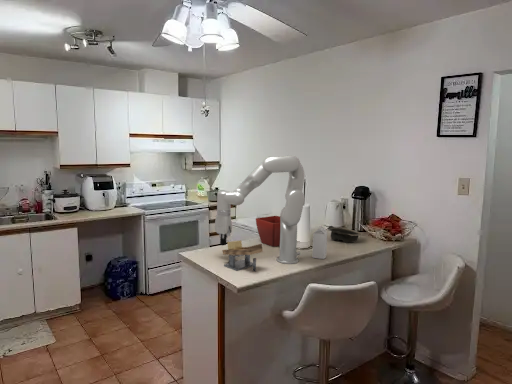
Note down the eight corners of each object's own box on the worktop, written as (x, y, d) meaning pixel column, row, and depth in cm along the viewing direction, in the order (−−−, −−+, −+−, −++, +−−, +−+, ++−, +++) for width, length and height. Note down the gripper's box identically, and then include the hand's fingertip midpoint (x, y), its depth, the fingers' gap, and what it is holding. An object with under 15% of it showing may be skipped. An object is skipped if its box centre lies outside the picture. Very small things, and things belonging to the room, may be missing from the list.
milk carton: (312, 257, 212) (313, 226, 210) (314, 254, 218) (316, 224, 216) (324, 259, 209) (325, 227, 207) (326, 256, 216) (327, 225, 214)
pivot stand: (219, 264, 195) (219, 252, 194) (238, 259, 205) (238, 247, 204) (245, 274, 181) (245, 261, 180) (264, 268, 191) (265, 256, 190)
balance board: (222, 254, 196) (222, 247, 196) (235, 251, 203) (234, 244, 203) (250, 254, 181) (249, 247, 181) (262, 251, 187) (261, 244, 187)
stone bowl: (320, 239, 255) (321, 226, 254) (337, 236, 274) (338, 224, 274) (352, 246, 239) (354, 232, 239) (368, 242, 258) (369, 229, 258)
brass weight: (228, 251, 196) (227, 242, 196) (235, 249, 199) (234, 240, 200) (235, 251, 192) (234, 241, 192) (242, 249, 195) (241, 240, 195)
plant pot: (272, 249, 228) (273, 223, 226) (254, 242, 243) (254, 218, 241) (294, 244, 240) (295, 220, 238) (275, 238, 255) (276, 215, 253)
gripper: (210, 211, 203) (209, 243, 205) (227, 215, 193) (226, 248, 195) (220, 210, 208) (219, 241, 211) (237, 214, 198) (237, 246, 200)
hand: (223, 244), depth 203 cm, fingers closed
